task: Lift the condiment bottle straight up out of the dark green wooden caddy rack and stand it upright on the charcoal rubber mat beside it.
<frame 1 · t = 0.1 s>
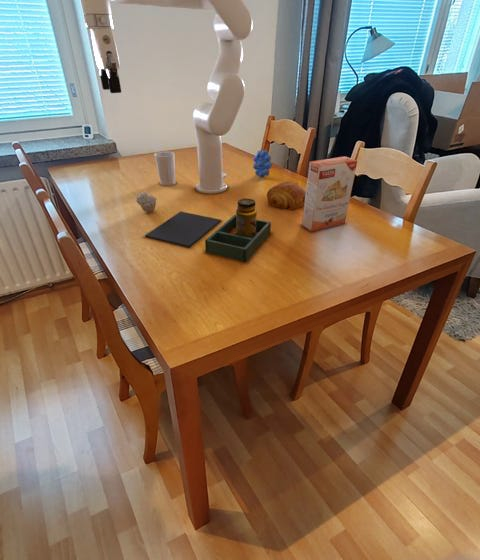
hand: (111, 91, 110), 37 cm above the table, tool pointing down, fingers open, 9 cm apart
condiment: (243, 239, 109), resting in caddy
cup: (167, 183, 150), on the table
croissant: (287, 203, 132), on the table
cracker box: (323, 225, 117), on the table
mat: (184, 228, 114), on the table
caddy: (243, 238, 109), on the table
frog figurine: (148, 212, 125), on the table
grapes: (263, 177, 156), on the table
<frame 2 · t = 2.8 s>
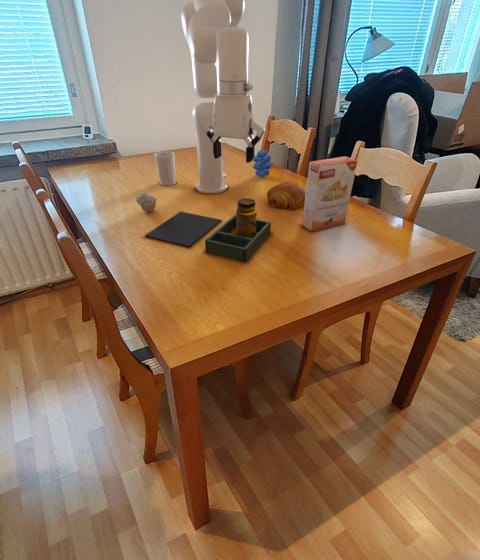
hand: (233, 159, 97), 23 cm above the table, tool pointing down, fingers open, 9 cm apart
nothing on the table moved.
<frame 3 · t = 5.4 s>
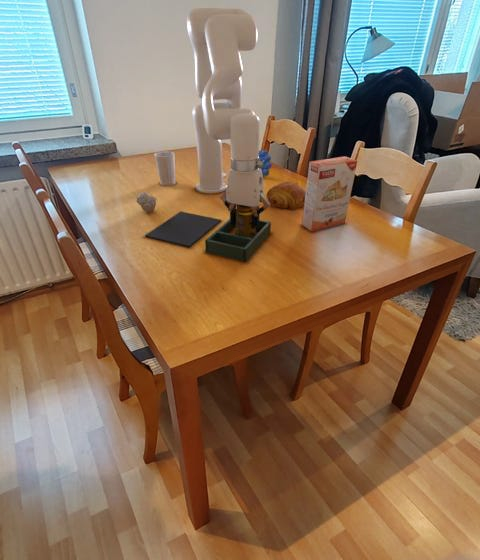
hand: (244, 224, 106), 5 cm above the table, tool pointing down, fingers closed on condiment, 6 cm apart
condiment: (242, 239, 109), resting in caddy, touching gripper
everything else where it was.
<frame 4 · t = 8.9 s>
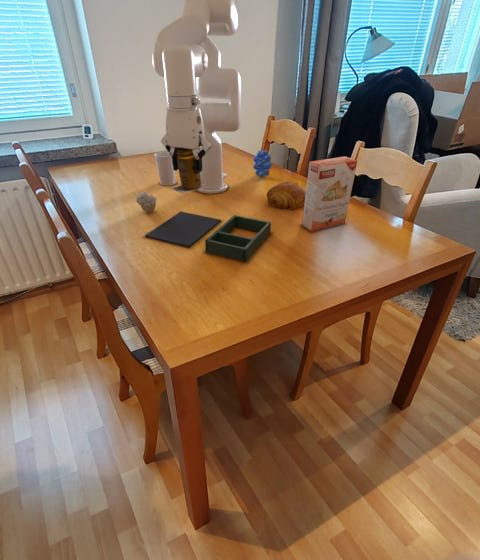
hand: (187, 170, 103), 19 cm above the table, tool pointing down, fingers closed on condiment, 6 cm apart
condiment: (189, 188, 105), point 14 cm above the table, touching gripper
everything else where it was.
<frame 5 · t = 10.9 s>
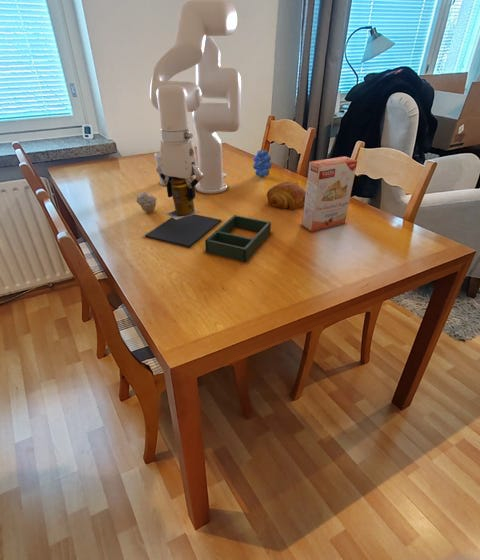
hand: (181, 197, 108), 11 cm above the table, tool pointing down, fingers closed on condiment, 6 cm apart
condiment: (183, 214, 111), point 5 cm above the table, touching gripper
everything else where it was.
when the fingers open (6 cm above the table, at t = 12.5 s): condiment stays where it is, resting on mat.
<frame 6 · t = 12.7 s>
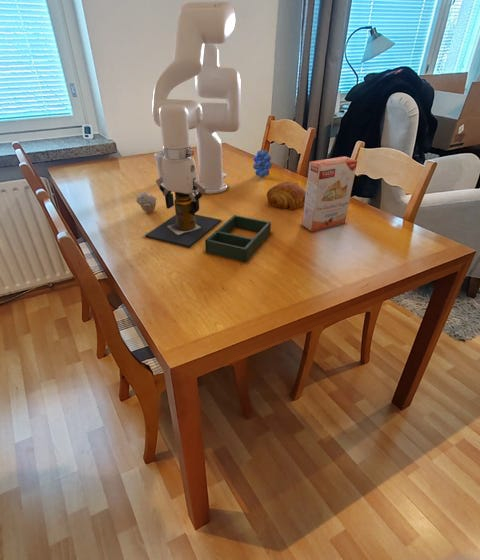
hand: (182, 209, 110), 7 cm above the table, tool pointing down, fingers open, 8 cm apart
condiment: (184, 228, 114), resting on mat
everything else where it was.
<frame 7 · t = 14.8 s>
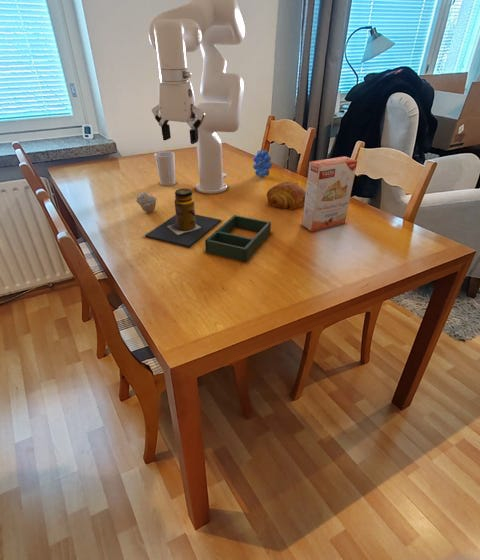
hand: (180, 141, 107), 25 cm above the table, tool pointing down, fingers open, 9 cm apart
nothing on the table moved.
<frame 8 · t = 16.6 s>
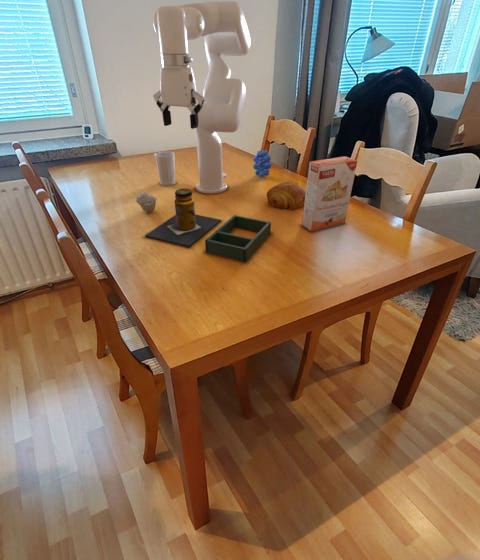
hand: (181, 126, 109), 28 cm above the table, tool pointing down, fingers open, 9 cm apart
nothing on the table moved.
at the end: condiment inside the target area on the mat (0.3 cm from its centre), point 0.4 cm above the mat's base; condiment tilted 0°; the gripper is holding nothing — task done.
